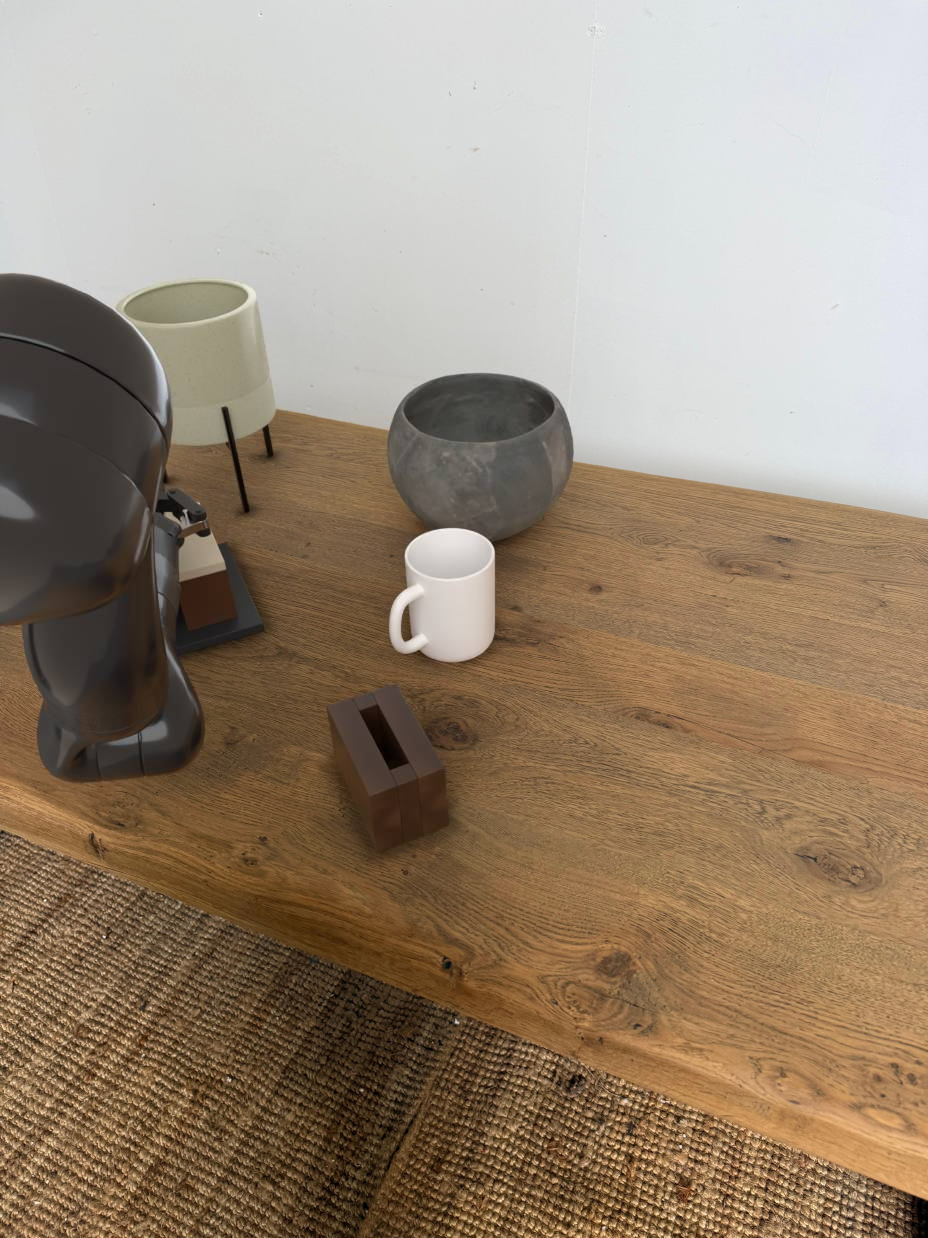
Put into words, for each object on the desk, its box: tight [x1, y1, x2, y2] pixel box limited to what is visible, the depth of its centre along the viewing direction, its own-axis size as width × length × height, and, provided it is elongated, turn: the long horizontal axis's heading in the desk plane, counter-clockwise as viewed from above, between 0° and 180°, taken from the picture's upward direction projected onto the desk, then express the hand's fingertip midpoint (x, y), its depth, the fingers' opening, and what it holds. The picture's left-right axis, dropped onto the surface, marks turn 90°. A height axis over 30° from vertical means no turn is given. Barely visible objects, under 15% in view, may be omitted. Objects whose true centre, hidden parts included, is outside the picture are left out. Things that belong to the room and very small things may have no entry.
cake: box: [165, 501, 265, 657], centre depth 88 cm, size 16×16×8 cm
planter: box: [114, 277, 277, 514], centre depth 103 cm, size 15×16×23 cm
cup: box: [388, 528, 496, 663], centre depth 81 cm, size 8×12×10 cm
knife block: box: [325, 683, 449, 854], centre depth 69 cm, size 6×10×7 cm, turn 25°
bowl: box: [386, 372, 575, 543], centre depth 97 cm, size 20×20×15 cm
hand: (137, 482), depth 84 cm, fingers closed
